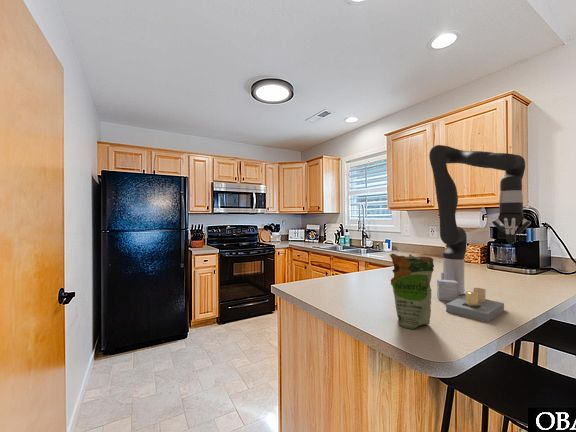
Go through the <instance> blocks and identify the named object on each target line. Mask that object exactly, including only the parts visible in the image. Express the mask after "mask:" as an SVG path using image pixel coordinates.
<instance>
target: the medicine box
mask: <svg viewBox="0 0 576 432" xmlns="http://www.w3.org/2000/svg"><path fill="white" fill-rule="evenodd" d="M459 296H460V295H459V283H458V282H457V281H453V280H441V279H437V280H436V298H437V299H438V300H439V301H444V302H445V301H447V302H451V301H453V300H455V299H458V298H460V297H459Z"/></svg>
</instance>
